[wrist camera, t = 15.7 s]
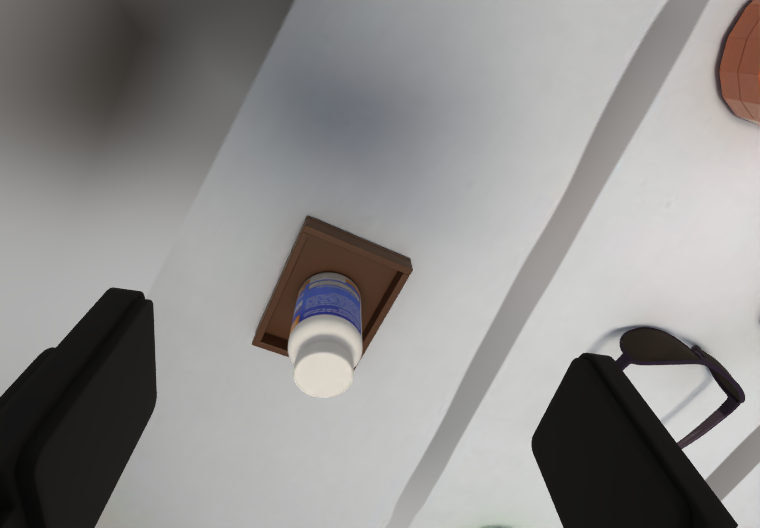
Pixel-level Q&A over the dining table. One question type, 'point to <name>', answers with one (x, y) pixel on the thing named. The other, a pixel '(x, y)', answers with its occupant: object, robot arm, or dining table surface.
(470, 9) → the dining table surface
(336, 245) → the tray
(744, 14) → the bowl
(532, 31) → the dining table surface
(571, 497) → the robot arm
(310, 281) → the pill bottle
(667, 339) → the sunglasses
